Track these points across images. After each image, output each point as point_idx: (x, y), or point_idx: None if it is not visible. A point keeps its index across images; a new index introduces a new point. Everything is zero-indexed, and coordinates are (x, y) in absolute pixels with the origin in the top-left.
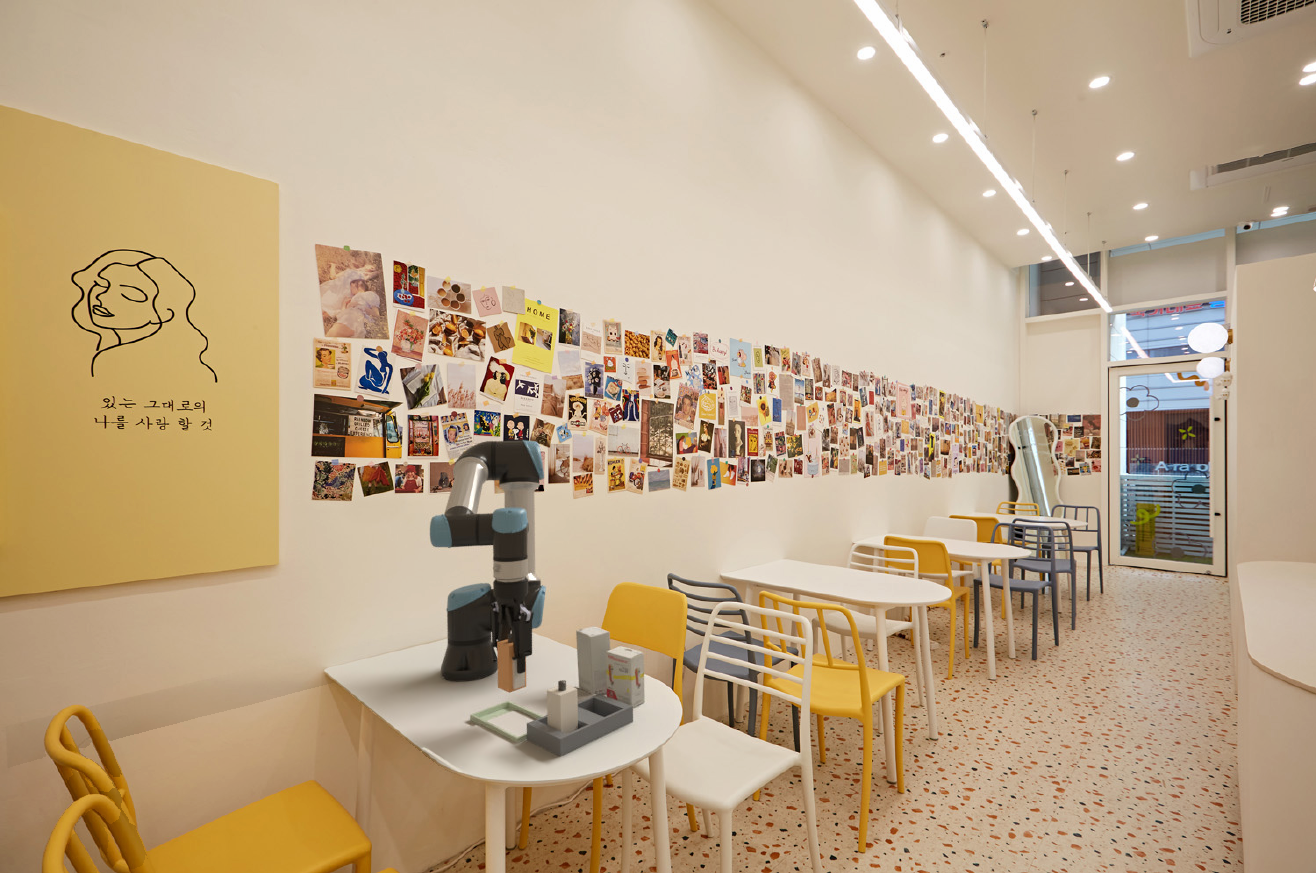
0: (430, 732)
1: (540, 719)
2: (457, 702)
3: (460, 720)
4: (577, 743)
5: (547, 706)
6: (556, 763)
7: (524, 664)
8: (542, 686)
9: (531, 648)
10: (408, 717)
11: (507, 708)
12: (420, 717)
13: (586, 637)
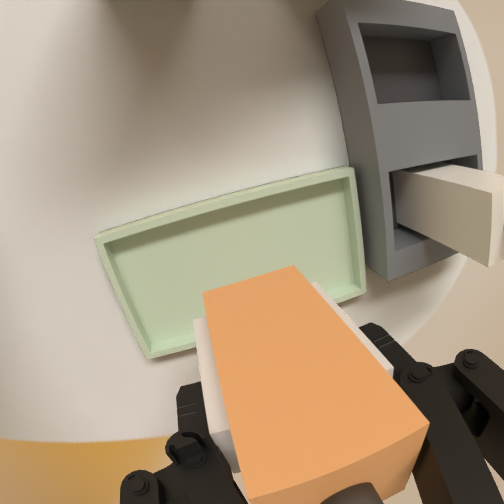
0: (165, 417)
1: (393, 240)
2: (15, 339)
3: (128, 363)
4: None
5: (453, 248)
6: None
7: (397, 349)
8: (7, 84)
9: (500, 372)
10: (69, 427)
11: (118, 243)
12: (77, 415)
13: None
